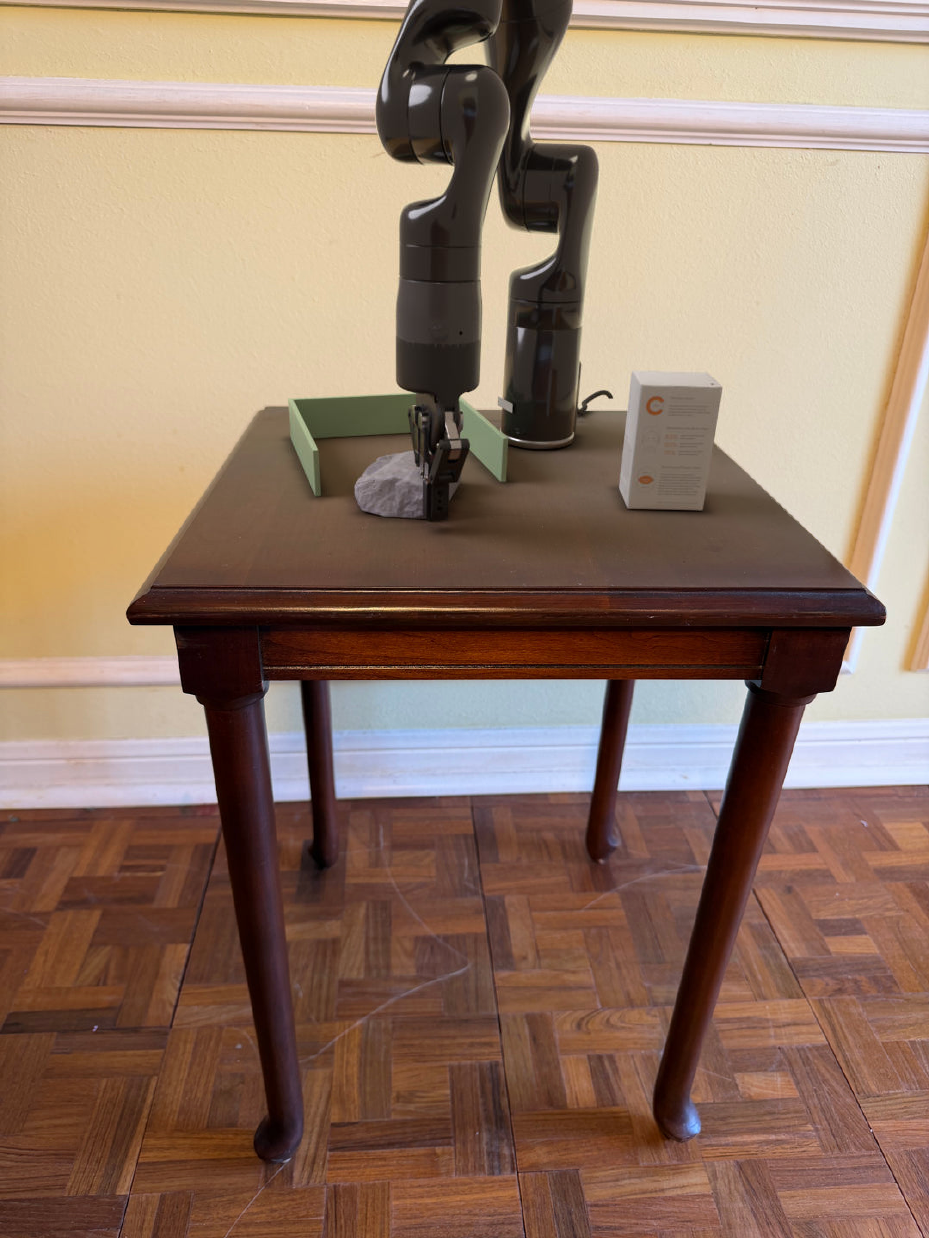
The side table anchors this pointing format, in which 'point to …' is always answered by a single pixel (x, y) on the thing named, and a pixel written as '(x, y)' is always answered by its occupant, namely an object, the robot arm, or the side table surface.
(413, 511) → the stone block
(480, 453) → the green u-shaped fence
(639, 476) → the small box
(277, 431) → the side table surface
